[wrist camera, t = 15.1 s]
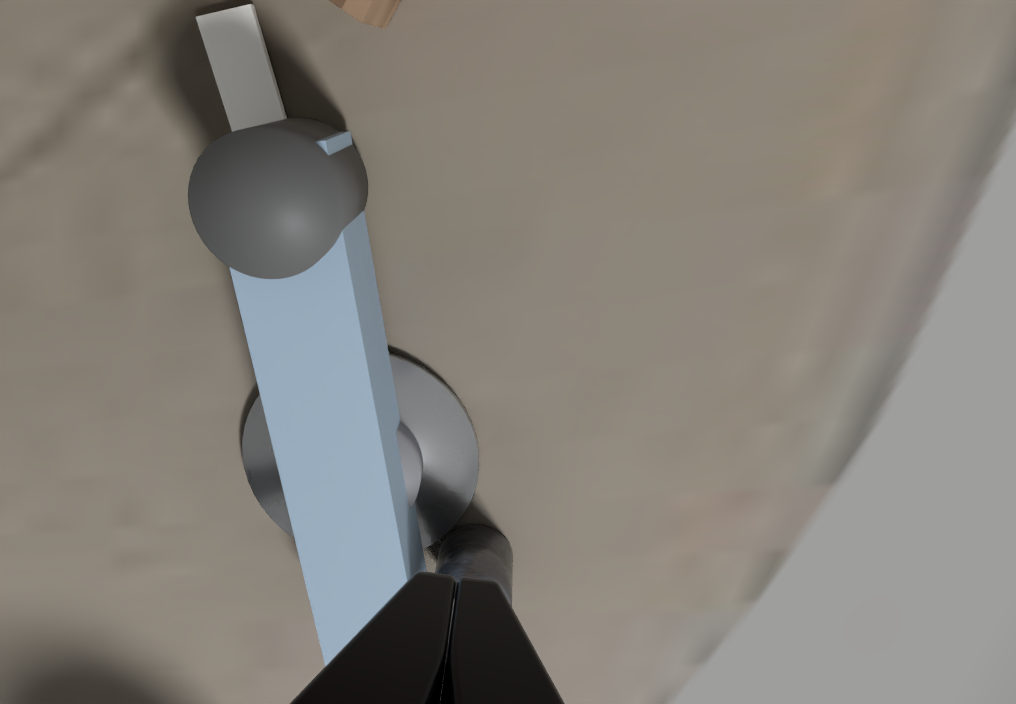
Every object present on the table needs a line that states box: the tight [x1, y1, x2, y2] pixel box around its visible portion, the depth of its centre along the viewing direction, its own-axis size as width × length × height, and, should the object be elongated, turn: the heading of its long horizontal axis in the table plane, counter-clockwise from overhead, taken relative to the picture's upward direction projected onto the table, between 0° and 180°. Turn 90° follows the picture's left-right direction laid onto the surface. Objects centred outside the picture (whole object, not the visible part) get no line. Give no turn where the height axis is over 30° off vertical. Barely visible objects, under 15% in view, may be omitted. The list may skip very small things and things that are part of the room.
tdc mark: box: [196, 4, 287, 132], centre depth 17 cm, size 3×1×1 cm, turn 12°
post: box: [435, 525, 513, 663], centre depth 19 cm, size 2×2×3 cm
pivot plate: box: [242, 352, 479, 549], centre depth 20 cm, size 6×6×1 cm
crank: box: [188, 118, 427, 666], centre depth 17 cm, size 13×3×3 cm, turn 6°
